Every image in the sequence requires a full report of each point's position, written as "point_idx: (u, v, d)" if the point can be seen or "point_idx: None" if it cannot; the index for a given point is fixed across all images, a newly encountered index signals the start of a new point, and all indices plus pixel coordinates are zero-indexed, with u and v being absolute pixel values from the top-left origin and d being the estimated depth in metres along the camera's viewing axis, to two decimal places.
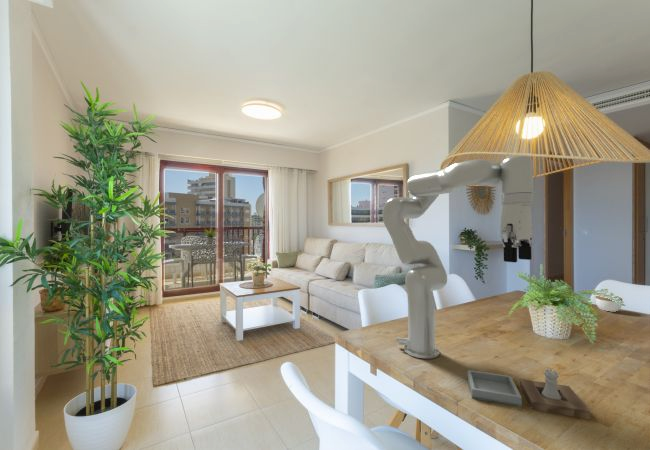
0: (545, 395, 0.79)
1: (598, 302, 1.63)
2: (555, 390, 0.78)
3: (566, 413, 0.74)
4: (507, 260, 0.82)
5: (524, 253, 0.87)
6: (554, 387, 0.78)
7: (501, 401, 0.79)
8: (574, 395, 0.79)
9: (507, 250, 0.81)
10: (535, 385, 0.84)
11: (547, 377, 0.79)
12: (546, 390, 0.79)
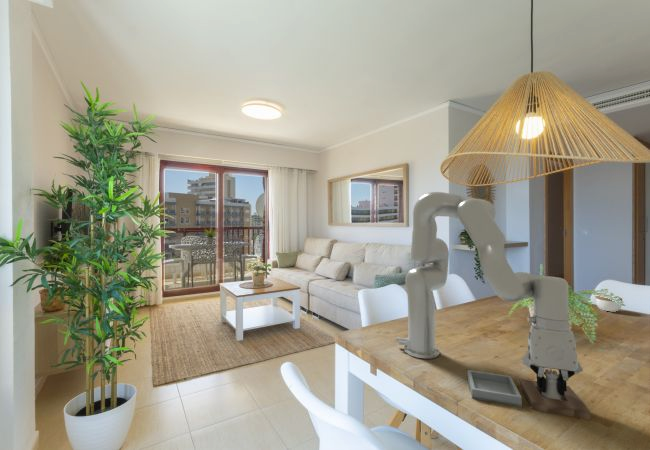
0: (545, 395, 0.79)
1: (598, 302, 1.63)
2: (555, 390, 0.78)
3: (566, 413, 0.74)
4: None
5: None
6: (554, 387, 0.78)
7: (501, 401, 0.79)
8: (574, 395, 0.79)
9: None
10: (535, 385, 0.84)
11: (547, 377, 0.79)
12: (546, 390, 0.79)
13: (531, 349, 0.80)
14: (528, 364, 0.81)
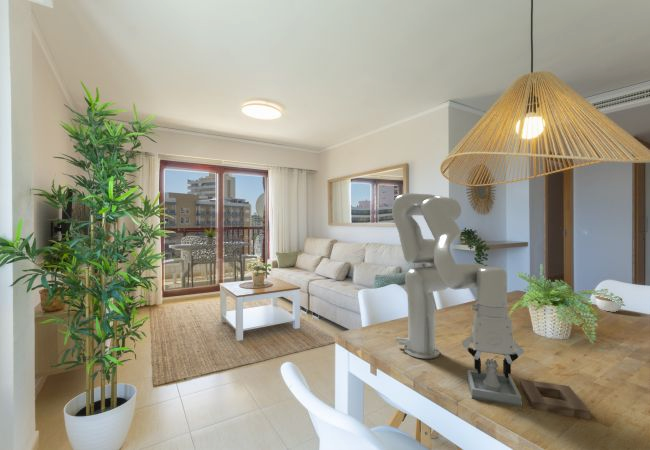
0: (485, 383, 0.84)
1: (598, 302, 1.63)
2: (494, 378, 0.83)
3: (566, 413, 0.74)
4: None
5: None
6: (493, 375, 0.83)
7: (501, 401, 0.79)
8: (574, 395, 0.79)
9: None
10: (535, 385, 0.84)
11: (487, 366, 0.84)
12: (487, 378, 0.84)
13: (473, 335, 0.84)
14: (467, 346, 0.86)
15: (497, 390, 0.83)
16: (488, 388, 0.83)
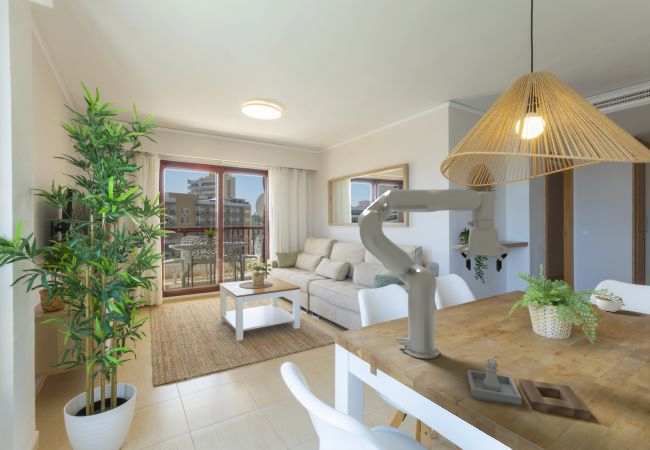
0: (485, 383, 0.84)
1: (598, 302, 1.63)
2: (494, 378, 0.83)
3: (566, 413, 0.74)
4: None
5: None
6: (493, 375, 0.83)
7: (501, 401, 0.79)
8: (574, 395, 0.79)
9: None
10: (535, 385, 0.84)
11: (487, 366, 0.84)
12: (487, 378, 0.84)
13: (469, 243, 1.11)
14: (461, 250, 1.13)
15: (497, 390, 0.83)
16: (488, 388, 0.83)
